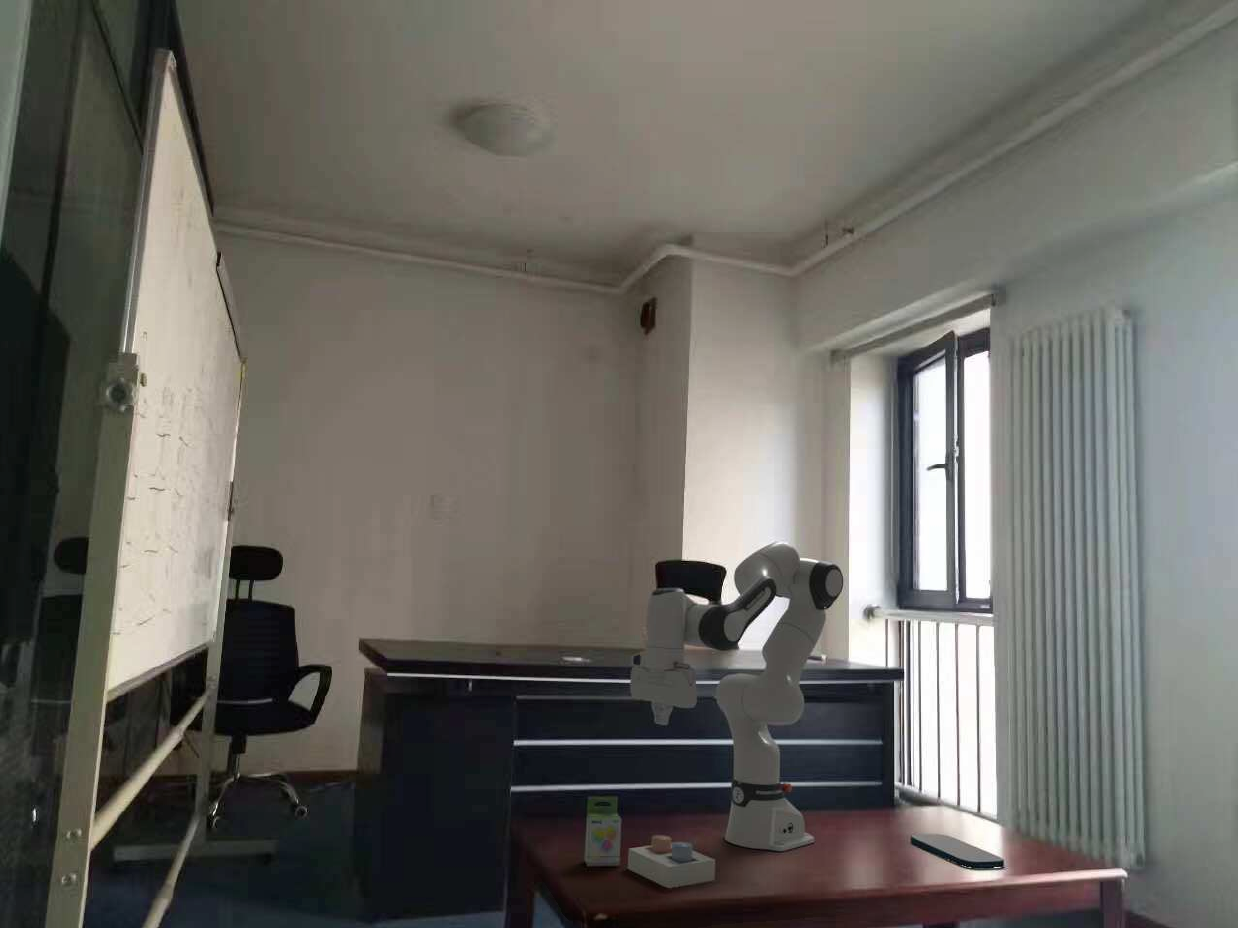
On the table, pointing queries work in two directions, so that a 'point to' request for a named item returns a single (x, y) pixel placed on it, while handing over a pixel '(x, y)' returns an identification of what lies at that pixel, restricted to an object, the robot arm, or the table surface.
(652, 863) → the white flat block
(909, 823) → the table surface
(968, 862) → the external hard drive
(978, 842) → the table surface
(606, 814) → the ink box
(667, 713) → the robot arm
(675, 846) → the grey piece
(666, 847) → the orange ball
